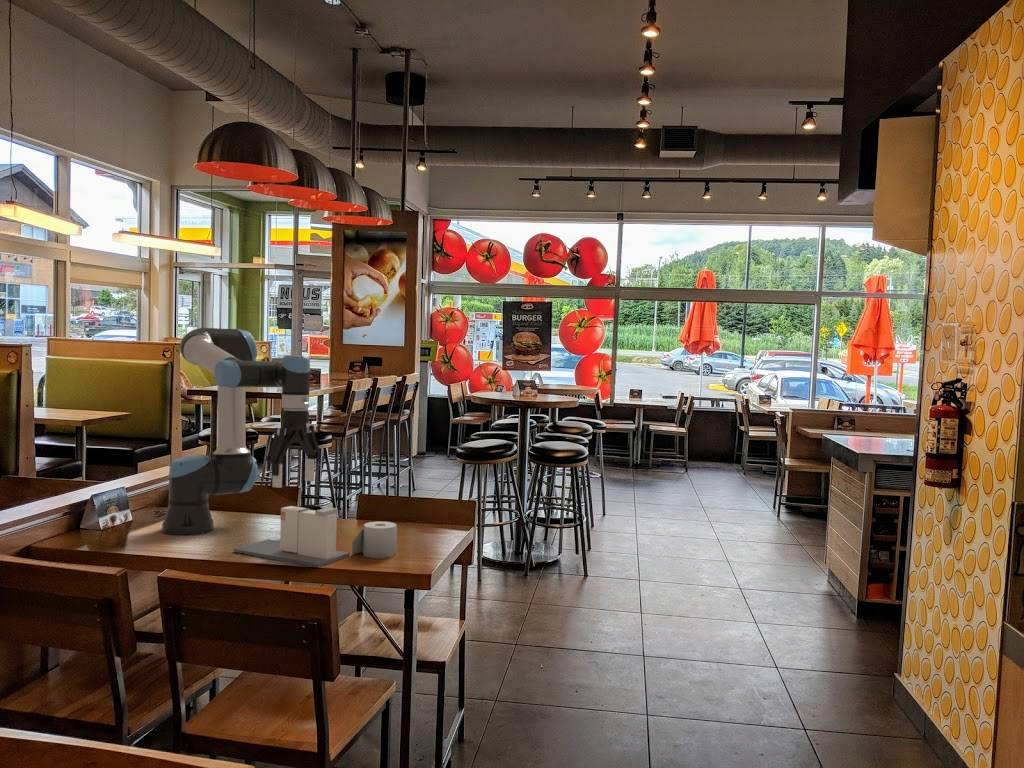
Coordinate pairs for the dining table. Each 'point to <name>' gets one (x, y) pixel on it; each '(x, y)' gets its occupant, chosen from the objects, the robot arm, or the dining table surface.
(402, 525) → the dining table surface
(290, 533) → the white upright block
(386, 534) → the toilet tissue
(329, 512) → the grey bookend stand
